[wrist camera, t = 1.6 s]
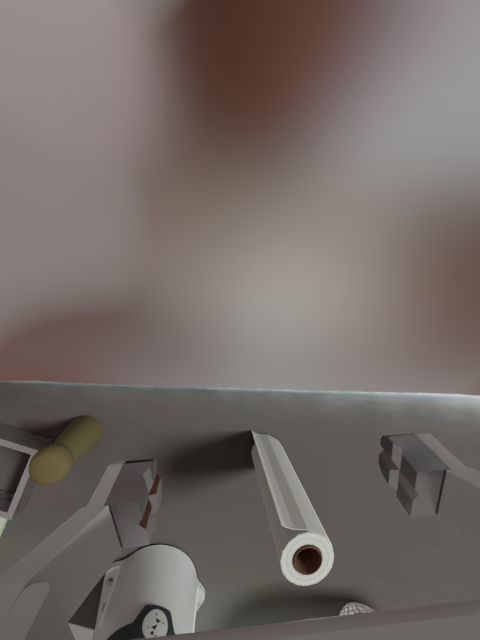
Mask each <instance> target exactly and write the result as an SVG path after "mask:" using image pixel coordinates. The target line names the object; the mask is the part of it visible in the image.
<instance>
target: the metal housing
mask: <svg viewBox="0 0 480 640" xmlns="http://www.w3.org/2000/svg"><path fill="white" fill-rule="evenodd" d="M52 442H53V440H52V439H49V438H46V437H43V436H40V435H36V434H33V433H30V432H27V431H24V430H21V429H18V428H15V427H12V426H8V425H5V424H2V423H0V445H1V446H4V447H8V448H11V449H14V450H17V451H20V452H24V453H27V454H30V455H31V456H30V458H29V461H28V463H27V465H26V468H25V470H24V473H23V475H22V478H21V480H20V483H19V485H18V487H17V490H16V492H15V494H13V493H9V492H6V491H3V490H0V517H2V518H5V519H9V520H12V519H13V518H14V517H15V516H16V515H17V514H18V513H19V512H20V511H21V510H22V508H23V507H24V506H25V505H26V504H27V503H28V500H29V498H30V495H31V493H32V491H33V488H34V486H35V483H36V482H34V481H33V480H32V479H31V477H30V475H29V464H30V461H31V459H32V458H33V456H34V455H35V454H36V453H37V452H38V451H39V450H40V449H42V448H43V447H45V446H47V445H50V444H52Z"/></svg>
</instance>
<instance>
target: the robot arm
mask: <svg viewBox="0 0 480 640" xmlns="http://www.w3.org/2000/svg"><path fill="white" fill-rule="evenodd" d="M380 445H381V446H382V447H383V449H384V450H383V451H382V452H381V453H380V454H379V465H380V469H381V472H382V474H383V476H384V478H385V480H386V481H387V483H388V484H389V485H390V486H392V487H393V488H395V489H397V498H398V499H399V501H400V502H401V504H402V505H403V507H404V508H405V510H406V511H407V512H408V514H409V515H410V517H412V516H425V515H437V517H439V518H440V519H441V520H443V521H444V522H445V523H447V524H448V525H449V526H450V527H452V528H453V529H454V530H456V531H457V532H458V533H460V534H461V535H462V536H464V537H465V538H466V539H467V540H469V541H470V542H471V543H473V544H474V545H475V546H477V547H478V548H479V549H480V471H478V470H476V469H473V468H466V467H465V466H464V465H463V464H462V463H461V462H460V461H459V460H458V459H457V458H456V457H455V456H454V455H452V454H451V453H450V452H449V451H448V450H447V449H446V448H445V447H444V446H443V445H442V444H441V443H440V442H439V441H437V440H436V439H435V438H434V437H433V436H432V435H431V434H430V433H428V432H426V431H419V432H411V433H402V434H393V435H384V436H382V438H381V443H380ZM157 470H158V463H157V460H156V459H142V460H129V461H120V462H112V463H111V464H110V465H109V466H108V467H107V469H106V471H105V473H104V475H103V477H102V479H101V480H100V482H99V484H98V486H97V488H96V490H95V491H94V493H93V495H92V497H91V499H90V501H89V503H88V504H87V506H86V508H81V509H79V510H78V511H77V512H76V513H75V514H74V515H72V516H71V517H70V518H69V519H68V520H67V521H65V522H64V523H63V524H62V525H61V526H60V527H58V528H57V529H56V530H55V531H54V532H53V533H51V534H50V535H49V536H48V537H47V538H46V539H44V540H43V541H42V542H41V543H40V544H39V545H37V546H36V547H35V548H34V549H33V550H32V551H30V552H29V553H28V554H27V555H26V556H25V557H23V558H22V559H21V560H20V561H19V562H18V563H16V564H15V565H14V566H13V567H12V568H11V569H9V570H8V571H7V572H6V573H5V574H4V575H2V576H1V577H0V640H75V638H74V636H73V634H72V632H71V630H70V628H69V626H68V621H69V620H70V619H71V617H72V616H73V615H74V613H75V612H76V611H77V609H78V608H79V607H80V605H81V604H82V603H83V601H84V600H85V599H86V597H87V596H88V595H89V593H90V592H91V591H92V589H93V588H94V587H95V586H96V584H97V583H98V582H99V580H100V579H101V578H102V576H103V575H104V574H105V578H104V583H103V588H102V593H101V599H100V604H99V609H98V615H97V620H96V625H95V630H94V636H93V640H480V599H479V600H471V601H462V602H453V603H445V604H436V605H427V606H419V607H410V608H401V609H393V610H384V611H375V612H367V613H358V614H349V615H340V616H332V617H323V618H314V619H306V620H297V621H288V622H280V623H271V624H263V625H254V626H245V627H237V628H228V629H220V630H211V631H203V632H194V627H195V617H196V612H197V610H198V609H199V607H200V606H201V604H202V602H203V601H204V598H205V589H204V587H203V586H202V584H201V583H200V582H199V581H198V579H197V576H196V571H195V567H194V565H193V563H192V561H191V560H190V558H189V557H188V556H187V555H186V554H185V553H184V552H182V551H181V550H179V549H177V548H175V547H172V546H168V545H152V546H148V547H145V548H142V549H140V550H138V551H136V552H135V553H133V554H132V555H131V556H129V557H128V558H126V559H124V560H121V561H117V562H114V560H115V559H116V558H117V556H118V555H119V554H120V552H121V551H122V548H129V547H136V546H143V545H149V544H150V540H151V537H152V533H153V529H154V525H155V518H154V513H155V512H156V511H157V510H158V509H159V506H160V502H161V496H162V481H161V477H160V476H159V475H158V474H157ZM113 562H114V563H113ZM105 572H106V573H105Z"/></svg>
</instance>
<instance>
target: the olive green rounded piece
mask: <svg viewBox="0 0 480 640" xmlns="http://www.w3.org/2000/svg"><path fill="white" fill-rule="evenodd" d="M102 436H103V428H102V425H101V423H100V422H99V421H98V420H97V419H96V418H94V417H91V416H80V417H77V418H75V419H74V420H73V421H72V422H71V423H70V424H69V425H68V426H67V428H66V429H65V430H64V431H63V432H62V433H61V434H60V435H59V437H58V438H57V439H56V440H55V441H54V442H53V443H52V444H50V445H47V446H45V447H43V448H42V449H40V450H39V451H38V452H37V453H36V454H35V455H34V456H33V458H32V459H31V461H30V464H29V475H30V477H31V479H32V480H33V481H34V482H36V483H37V484H40V485H51V484H55V483H57V482H59V481H60V480H62V479H63V478H64V477H65V476H66V475H67V474H68V473H69V472H70V470H71V468H72V466H73V463H74V462H76V461H77V460H78V459H79V458H81V457H82V456H83V455H85V454H86V453H87V452H88V451H90V450H91V449H92V448H93V447H95V446H96V445H97V444H98V443H99V442H100V441H101V438H102Z"/></svg>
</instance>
